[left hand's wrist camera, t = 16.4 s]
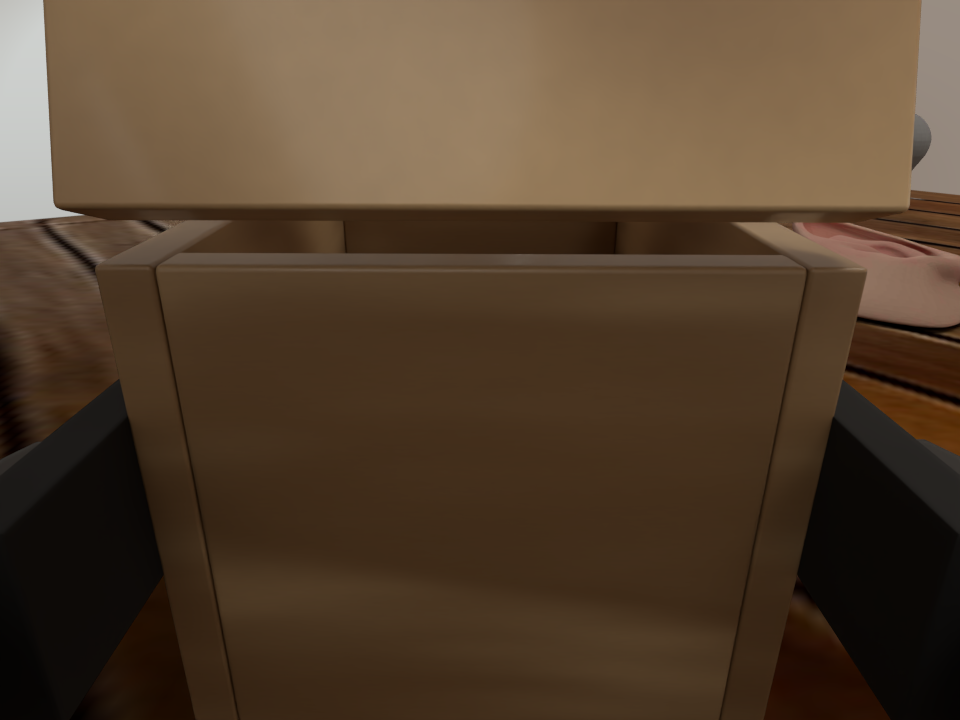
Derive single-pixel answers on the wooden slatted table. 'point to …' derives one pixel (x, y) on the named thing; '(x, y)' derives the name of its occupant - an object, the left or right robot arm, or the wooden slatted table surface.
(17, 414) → the wooden slatted table surface
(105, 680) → the wooden slatted table surface
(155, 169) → the lid
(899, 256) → the anatomical model
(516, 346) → the chest
